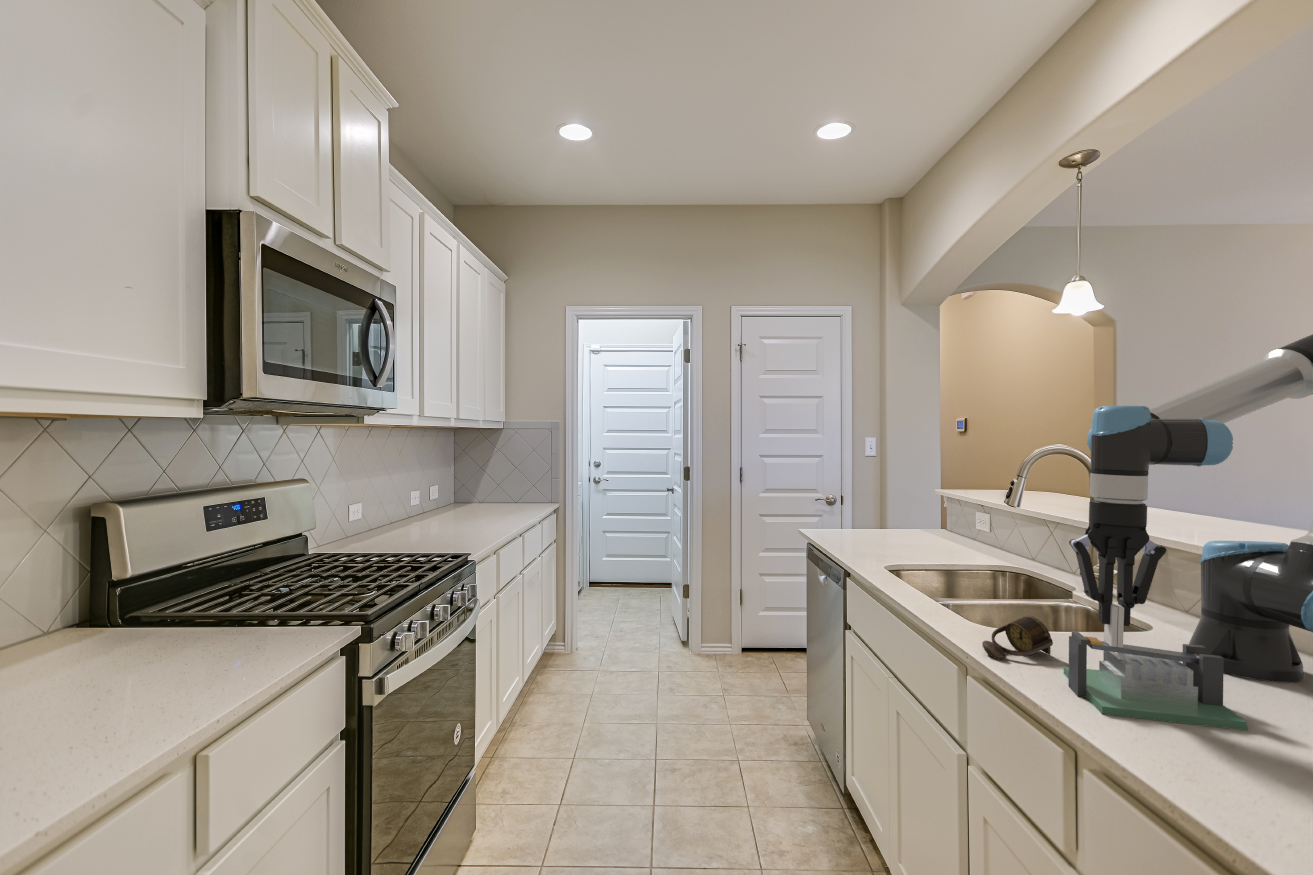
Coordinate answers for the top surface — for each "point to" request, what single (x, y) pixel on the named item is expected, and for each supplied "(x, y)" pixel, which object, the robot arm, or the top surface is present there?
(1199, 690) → the grey u-bracket
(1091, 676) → the board
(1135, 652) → the strap
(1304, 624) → the robot arm
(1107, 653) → the heatsink
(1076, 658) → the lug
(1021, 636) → the antique brown clock
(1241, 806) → the top surface
